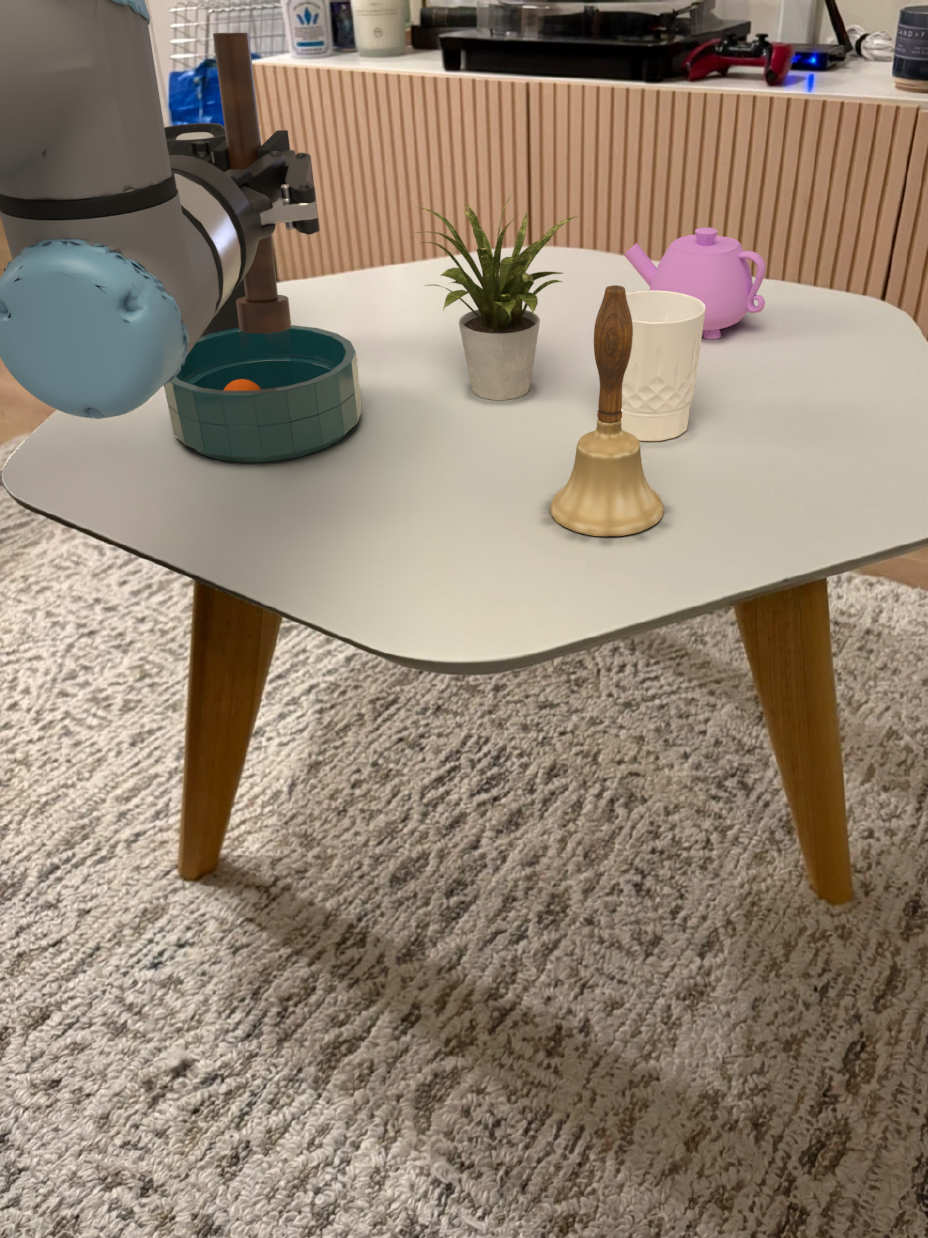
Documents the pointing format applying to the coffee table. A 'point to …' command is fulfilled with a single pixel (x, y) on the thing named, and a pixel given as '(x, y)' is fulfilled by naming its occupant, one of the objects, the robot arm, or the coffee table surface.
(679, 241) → the teapot
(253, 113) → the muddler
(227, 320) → the travel mug
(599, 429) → the hand bell
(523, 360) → the house plant
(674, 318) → the white cup
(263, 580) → the coffee table surface
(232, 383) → the orange ball
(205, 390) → the bowl
